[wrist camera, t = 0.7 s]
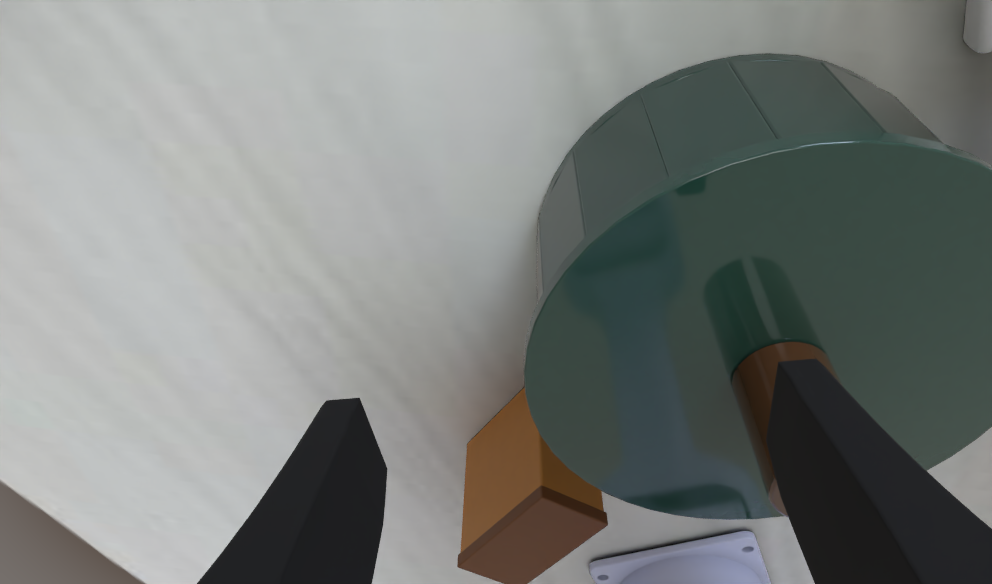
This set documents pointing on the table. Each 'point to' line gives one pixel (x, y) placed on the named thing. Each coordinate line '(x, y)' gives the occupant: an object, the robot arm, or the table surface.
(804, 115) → the pot
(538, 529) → the brown block
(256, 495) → the table surface
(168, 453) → the table surface
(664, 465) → the lid
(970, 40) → the mooring cleat
